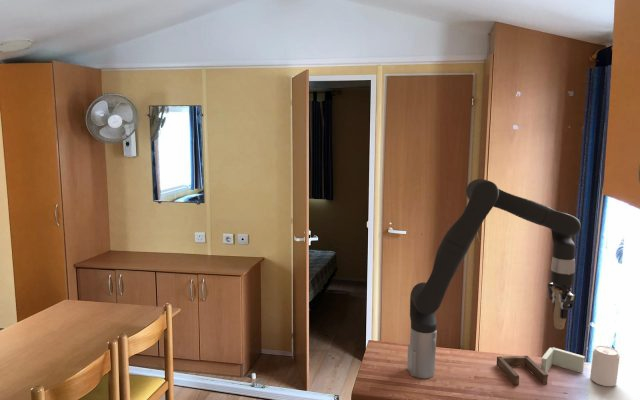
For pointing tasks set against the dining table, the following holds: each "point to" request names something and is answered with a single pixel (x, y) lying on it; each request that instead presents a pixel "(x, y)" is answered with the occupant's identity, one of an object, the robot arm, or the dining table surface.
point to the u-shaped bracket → (515, 361)
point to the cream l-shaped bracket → (562, 360)
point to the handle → (558, 310)
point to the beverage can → (604, 366)
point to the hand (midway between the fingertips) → (559, 315)
